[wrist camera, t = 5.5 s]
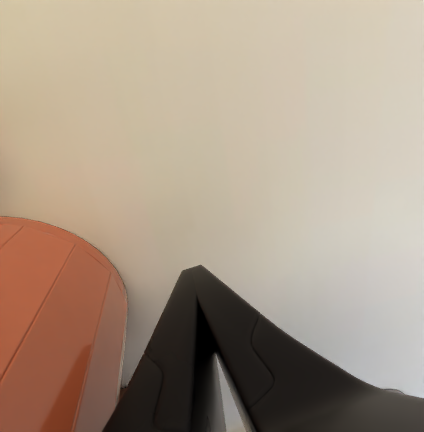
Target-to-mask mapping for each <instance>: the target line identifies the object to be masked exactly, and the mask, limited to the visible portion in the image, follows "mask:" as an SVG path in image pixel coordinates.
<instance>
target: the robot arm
mask: <svg viewBox="0 0 424 432" xmlns="http://www.w3.org/2000/svg"><path fill="white" fill-rule="evenodd" d="M144 353H145V354H143V355H142V358H141V360H140V362H139V364H138V366H137V368H136V370H135V372H134V374H133V376H132V378H131V380H130V382H129V384H128V386H127V388H126V390H125V392H124V393H123V395H122V397H121V399H120V401H119V402H118V404H117V406H116V408H115V410H114V411H113V413H112V415H111V416H110V418H109V420H108V422H107V423H106V425H105V427H104V428H103V430H102V432H226V425H225V418H224V411H223V403H222V396H221V389H220V381H219V374H218V367H217V359H216V355H217V358H218V360H219V363H220V365H221V368H222V371H223V373H224V376H225V378H226V381H227V383H228V386H229V388H230V391H231V393H232V396H233V398H234V401H235V404H236V406H237V409H238V411H239V414H240V416H241V419H242V421H243V424H244V426H245V429H246V431H247V432H424V399H423V398H419V397H414V396H409V395H405V394H400V393H395V392H391V391H387V390H383V389H380V388H378V387H375V386H373V385H370V384H368V383H366V382H364V381H362V380H360V379H358V378H356V377H354V376H353V375H351V374H349V373H348V372H346V371H344V370H343V369H341V368H340V367H338V366H337V365H335V364H333V363H332V362H330V361H329V360H327V359H325V358H324V357H322V356H321V355H319V354H317V353H316V352H314V351H313V350H311V349H309V348H308V347H306V346H305V345H303V344H302V343H300V342H299V341H297V340H296V339H294V338H293V337H291V336H290V335H288V334H287V333H285V332H284V331H282V330H281V329H280V328H278V327H277V326H276V325H274V324H273V323H272V322H271V321H269V320H268V319H267V318H266V317H264V316H263V315H262V314H260V313H259V312H258V311H257V310H256V309H255V308H253V307H252V306H251V305H250V304H248V303H247V302H246V301H245V300H244V299H242V298H241V297H240V296H239V295H238V294H236V293H235V292H234V291H233V290H231V289H230V288H229V287H228V286H227V285H225V284H224V283H223V282H222V281H220V280H219V279H218V278H217V277H216V276H214V275H213V274H212V273H211V272H210V271H208V270H207V269H206V268H205V267H203V266H202V265H198V266H195V267H192V268H189V269H186V270H183V271H182V272H181V274H180V277H179V279H178V281H177V283H176V285H175V287H174V289H173V292H172V294H171V296H170V298H169V300H168V302H167V304H166V306H165V309H164V311H163V313H162V315H161V317H160V319H159V321H158V324H157V326H156V328H155V330H154V332H153V334H152V336H151V339H150V341H149V343H148V345H147V347H146V349H145V351H144Z"/></svg>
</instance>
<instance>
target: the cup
mask: <svg viewBox="0 0 424 432" xmlns="http://www.w3.org/2000/svg"><path fill="white" fill-rule="evenodd" d="M127 313H128V298H127V294H126V289H125V287H124V284H123V282H122V279H121V277H120V276H119V274H118V272H117V271H116V269H115V268H114V266H113V265H112V264H111V263H110V261H109V260H108V259H107V258H106V257H105V256H104V255H103V254H102V253H101V252H100V251H99V250H98V249H96V248H95V247H93V246H92V245H91V244H89V243H88V242H87V241H85V240H83V239H81V238H80V237H78V236H76V235H74V234H72V233H70V232H68V231H65V230H63V229H61V228H58V227H56V226H52V225H49V224H46V223H43V222H39V221H34V220H29V219H24V218H14V217H0V432H102V430H103V428H104V427H105V425H106V423H107V422H108V420H109V418H110V416H111V415H112V413H113V411H114V410H115V408H116V406H117V404H118V402H119V395H120V386H121V377H122V368H123V359H124V349H125V340H126V327H127Z"/></svg>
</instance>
